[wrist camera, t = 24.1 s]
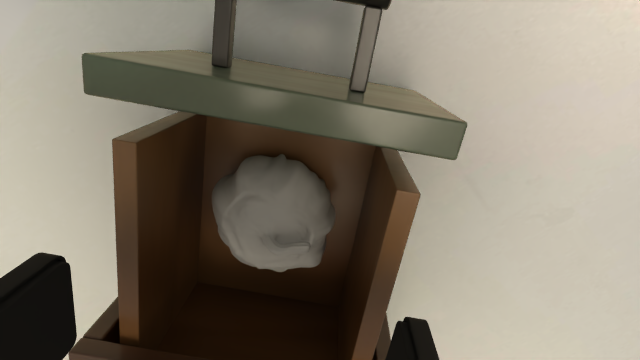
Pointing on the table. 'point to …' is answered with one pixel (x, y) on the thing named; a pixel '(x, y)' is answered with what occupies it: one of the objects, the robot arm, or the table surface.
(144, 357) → the cabinet
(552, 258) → the table surface
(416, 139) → the drawer
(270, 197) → the garlic
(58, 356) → the robot arm
